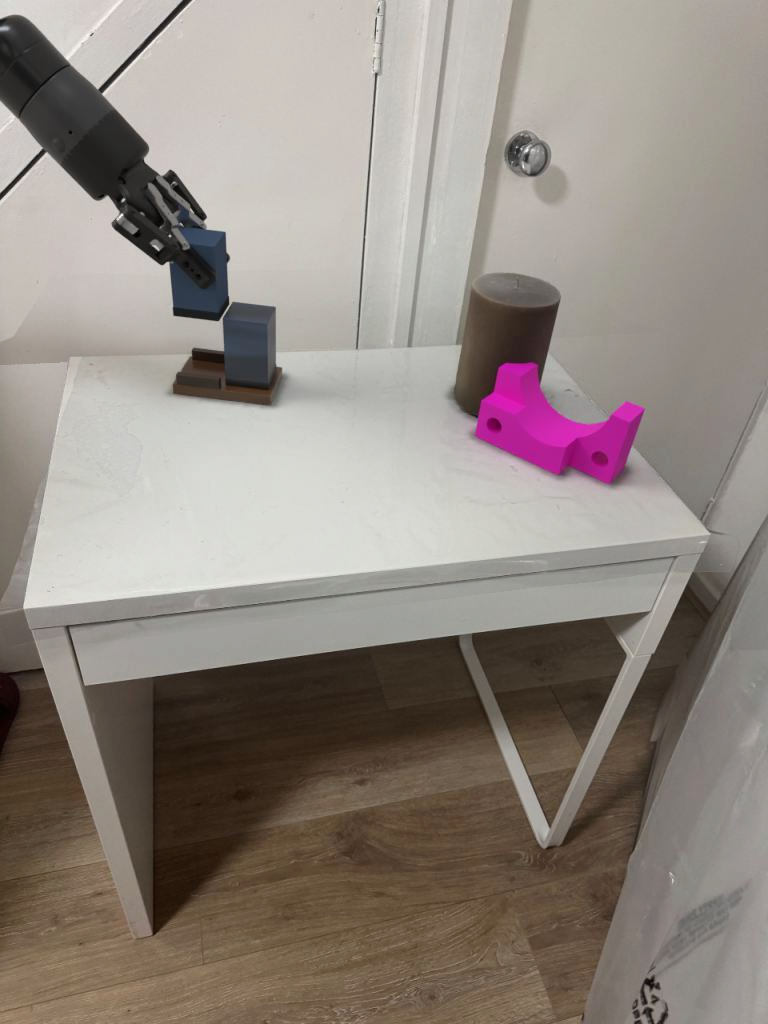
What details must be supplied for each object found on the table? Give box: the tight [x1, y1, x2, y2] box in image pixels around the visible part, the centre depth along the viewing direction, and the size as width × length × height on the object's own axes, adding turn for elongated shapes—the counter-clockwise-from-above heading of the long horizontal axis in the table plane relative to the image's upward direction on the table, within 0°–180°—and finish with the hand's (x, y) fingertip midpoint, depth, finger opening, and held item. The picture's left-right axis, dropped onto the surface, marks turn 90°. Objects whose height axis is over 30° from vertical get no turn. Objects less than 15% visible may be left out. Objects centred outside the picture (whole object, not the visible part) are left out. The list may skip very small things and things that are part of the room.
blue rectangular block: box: [168, 225, 230, 322], centre depth 80 cm, size 4×5×8 cm
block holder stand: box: [172, 301, 283, 406], centre depth 85 cm, size 7×11×9 cm, turn 85°
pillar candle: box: [453, 271, 562, 417], centre depth 85 cm, size 10×10×15 cm
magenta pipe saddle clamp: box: [474, 362, 646, 485], centre depth 80 cm, size 15×6×8 cm, turn 52°
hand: (217, 273), depth 79 cm, fingers closed on blue rectangular block, 4 cm apart
